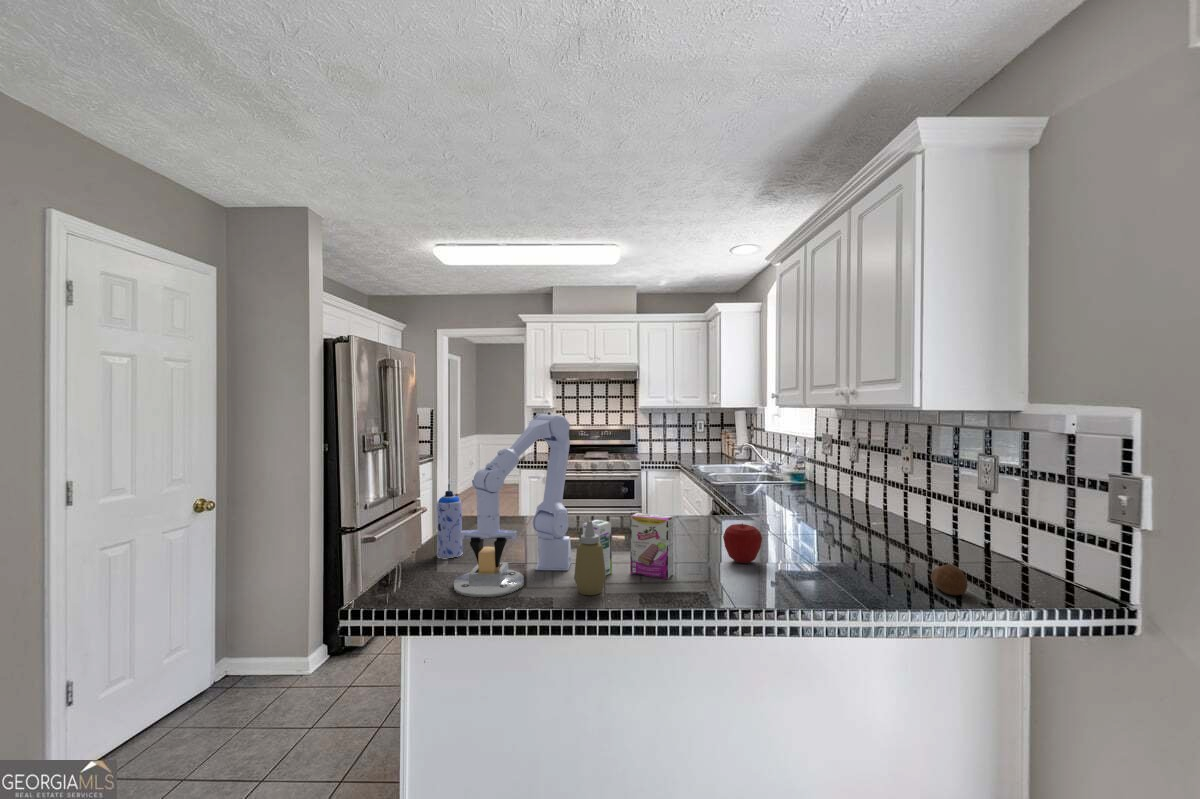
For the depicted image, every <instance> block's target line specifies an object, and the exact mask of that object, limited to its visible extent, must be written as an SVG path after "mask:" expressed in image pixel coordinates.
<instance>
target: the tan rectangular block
mask: <svg viewBox="0 0 1200 799" xmlns="http://www.w3.org/2000/svg"><path fill="white" fill-rule="evenodd" d="M478 560H479V573H496V572H497V571H498V570H499V567H496V565H495V547H494V546H483V549H482V550H481V551H480V552H479V553H478Z"/></svg>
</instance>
